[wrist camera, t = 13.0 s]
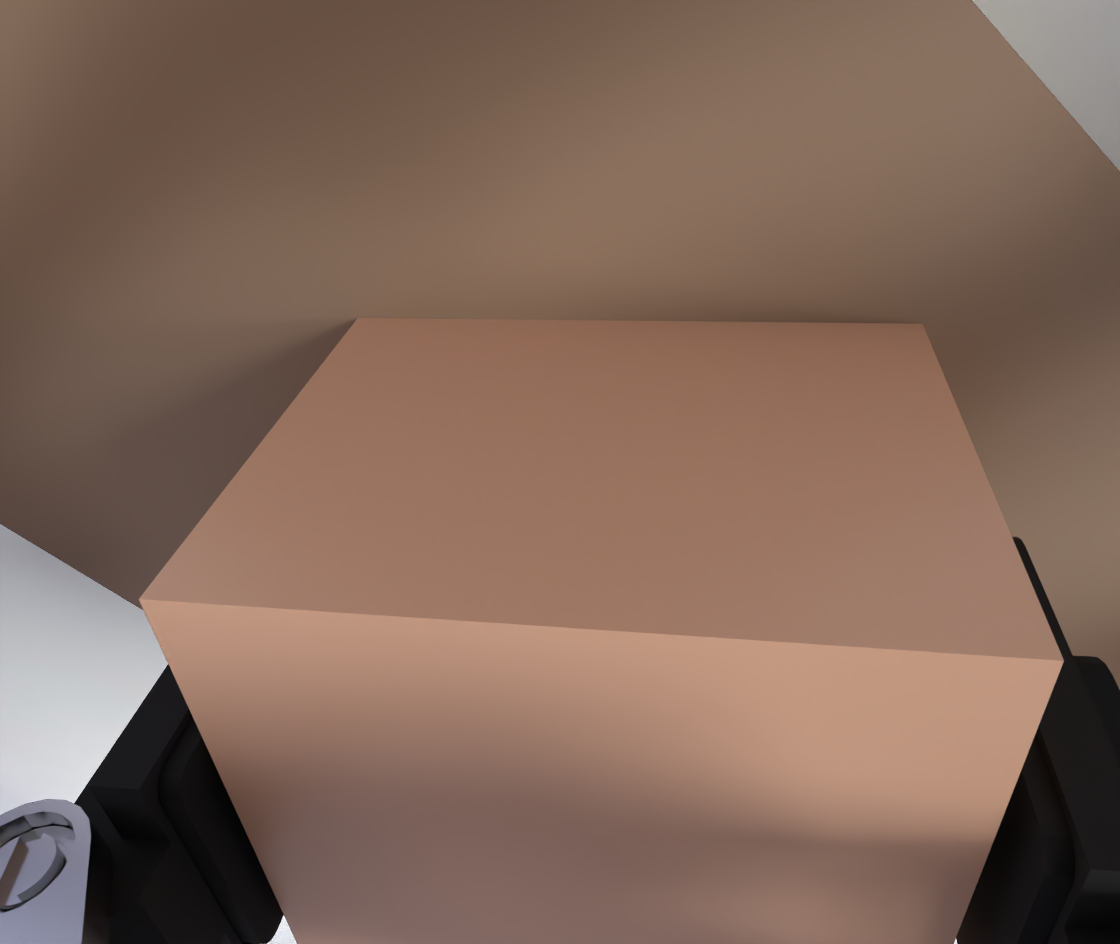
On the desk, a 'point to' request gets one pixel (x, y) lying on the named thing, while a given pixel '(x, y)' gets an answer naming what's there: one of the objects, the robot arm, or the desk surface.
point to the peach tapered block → (614, 637)
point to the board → (531, 228)
